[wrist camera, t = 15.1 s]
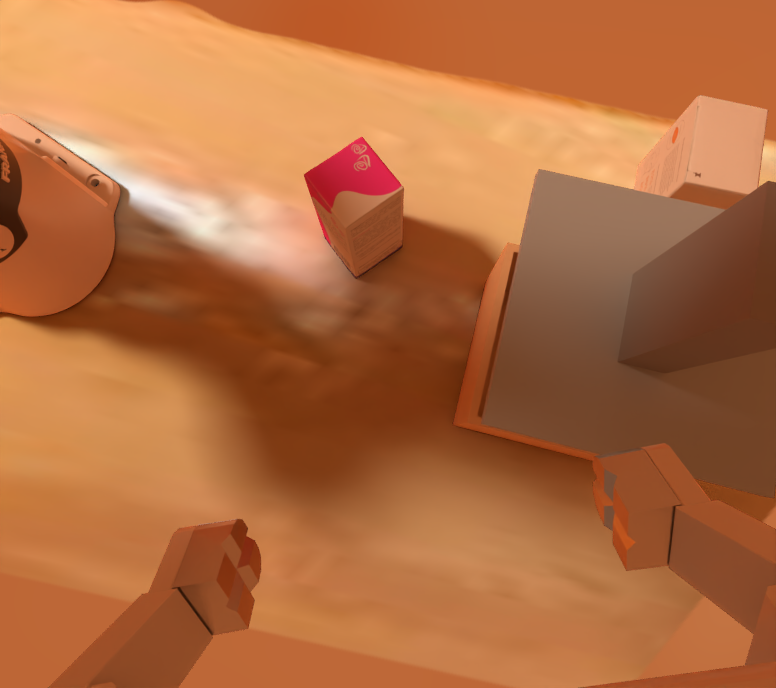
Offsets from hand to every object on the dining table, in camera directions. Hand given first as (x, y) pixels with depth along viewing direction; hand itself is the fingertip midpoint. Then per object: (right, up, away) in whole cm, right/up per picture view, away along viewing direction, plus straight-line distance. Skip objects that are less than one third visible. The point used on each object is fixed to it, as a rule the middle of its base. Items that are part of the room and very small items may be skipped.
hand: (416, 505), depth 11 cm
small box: (+26, +17, +37) cm, 49 cm away
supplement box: (-3, +14, +37) cm, 40 cm away
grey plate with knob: (+13, +5, +16) cm, 21 cm away
